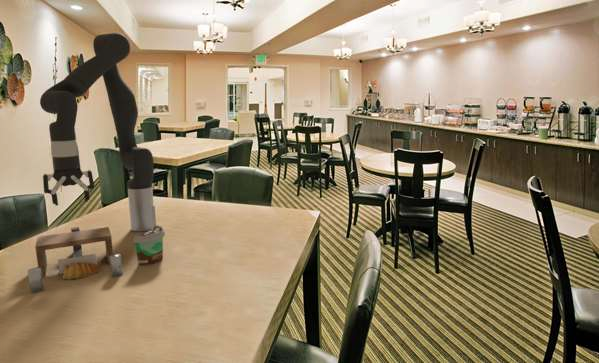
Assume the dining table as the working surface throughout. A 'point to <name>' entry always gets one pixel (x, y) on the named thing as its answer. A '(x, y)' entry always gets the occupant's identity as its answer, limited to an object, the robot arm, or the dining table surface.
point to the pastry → (79, 270)
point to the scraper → (76, 256)
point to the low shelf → (71, 243)
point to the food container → (150, 246)
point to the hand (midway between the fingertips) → (71, 203)
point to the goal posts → (37, 280)
